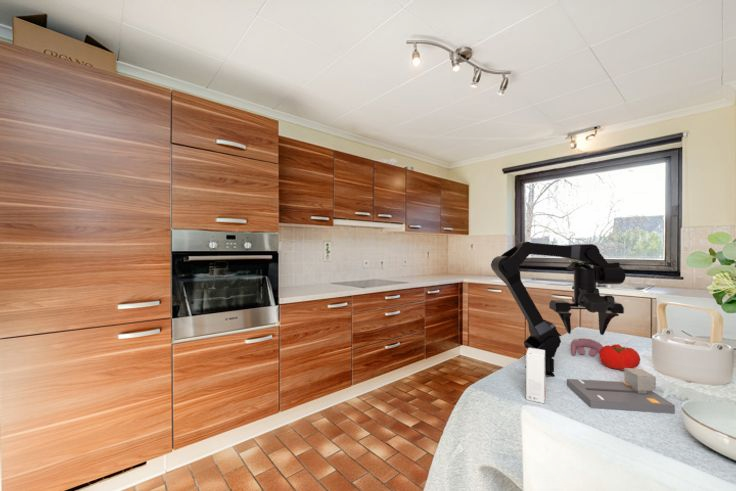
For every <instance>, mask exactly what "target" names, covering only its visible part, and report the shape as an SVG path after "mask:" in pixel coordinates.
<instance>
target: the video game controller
mask: <svg viewBox="0 0 736 491" xmlns="http://www.w3.org/2000/svg"><path fill="white" fill-rule="evenodd" d="M602 347H604V346H603V345H602V343H600V342H599V341H597V340H594V339H591V338H583V337H582V338H575V339H573V340H572V341H571V343H570V353H571V355H572V356H573V357H574V356H576V354H577V353H578V354H579V355H585V354H586V349H585V348H588V349H589V350H588V354H589V355H590V356H591V357H595V356H596V355H597V354H599V352H600V350H601V348H602Z"/></svg>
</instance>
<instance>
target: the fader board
mask: <svg viewBox="0 0 736 491" xmlns="http://www.w3.org/2000/svg"><path fill="white" fill-rule="evenodd" d="M566 386H567V387H568V388H569V389H570V391H572V392H573V393H574V394H575V395H576V396H577V397H579V399H580V400H582V402H584V404H586V405H587V406H588V407H589V408H590V409H600V410H601V409H603V410H615V411H616V410H617V411H627V412H628V411H630V412H644V413H646V412H647V413H660V414H661V413H662V414H673V415H674V414H675V412H676V410H675V409H676V406H675V404H673V403H672V402H670V401H669V400H667V399H665V398H664V397H663V396H661V395H659V394H658V393H656V392H655V391H647V394H640V393H637V392H635V391H634V390H633V387H632V386H631V385H629V384H628V383H626V382H625V381H616V380H615V381H612V380H595V379H575V378H566Z"/></svg>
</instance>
